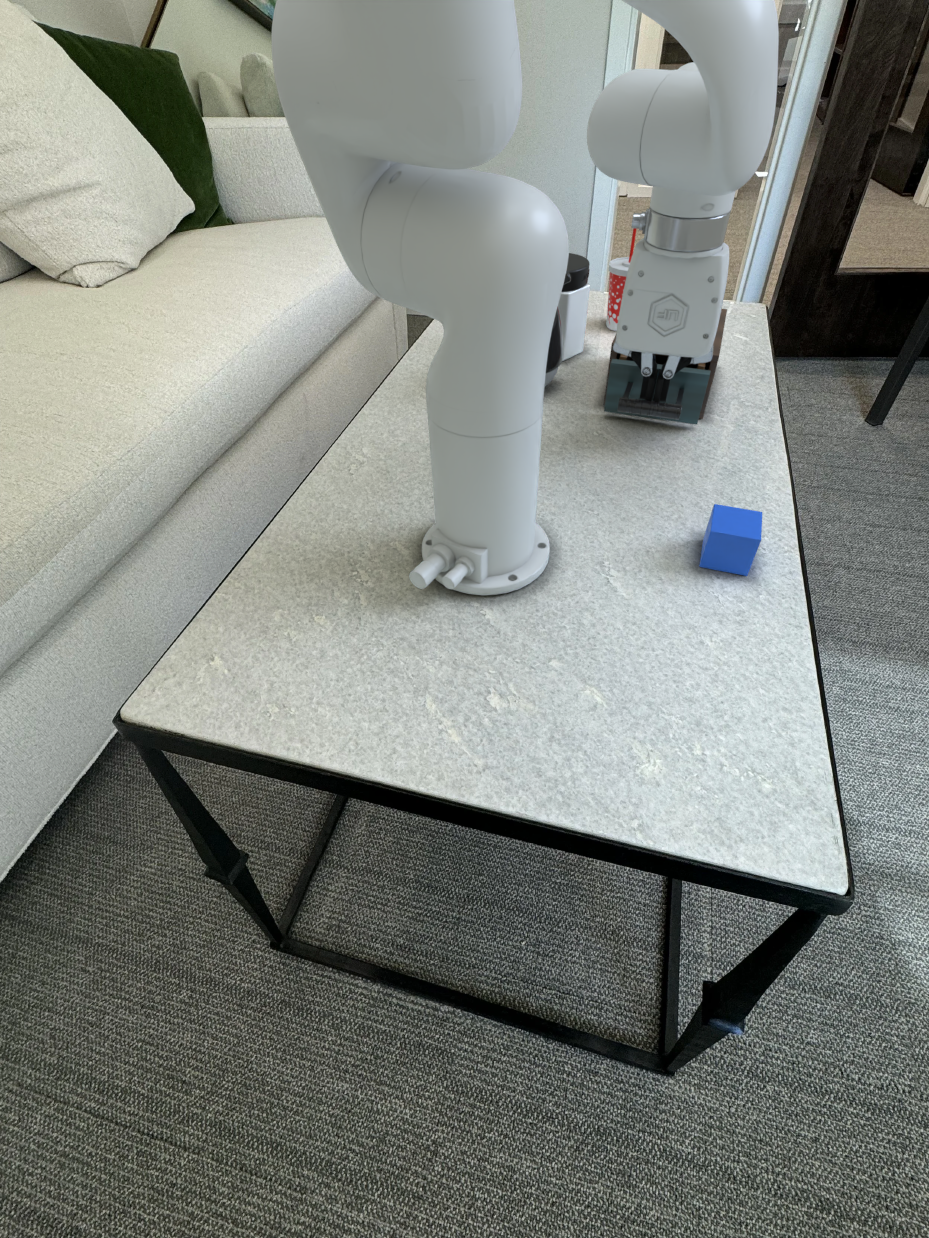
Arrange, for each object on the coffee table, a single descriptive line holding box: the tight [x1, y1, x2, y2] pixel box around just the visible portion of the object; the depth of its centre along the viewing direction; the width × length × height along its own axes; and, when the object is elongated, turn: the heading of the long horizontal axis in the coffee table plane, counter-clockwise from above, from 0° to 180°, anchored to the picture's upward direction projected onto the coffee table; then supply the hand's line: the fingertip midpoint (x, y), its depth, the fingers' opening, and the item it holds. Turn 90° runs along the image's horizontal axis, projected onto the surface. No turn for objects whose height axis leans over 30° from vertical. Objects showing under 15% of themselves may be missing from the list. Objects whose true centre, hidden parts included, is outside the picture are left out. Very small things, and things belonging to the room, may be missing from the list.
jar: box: [558, 252, 591, 362], centre depth 92 cm, size 9×8×12 cm
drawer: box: [603, 354, 711, 425], centre depth 80 cm, size 20×11×6 cm, turn 161°
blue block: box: [698, 503, 763, 577], centre depth 61 cm, size 4×4×4 cm
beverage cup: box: [605, 228, 638, 332], centre depth 96 cm, size 6×6×14 cm
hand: (651, 405), depth 76 cm, fingers closed
